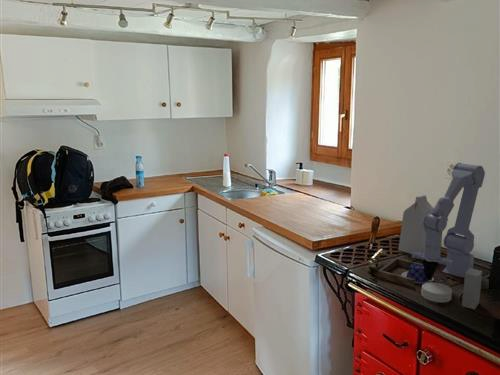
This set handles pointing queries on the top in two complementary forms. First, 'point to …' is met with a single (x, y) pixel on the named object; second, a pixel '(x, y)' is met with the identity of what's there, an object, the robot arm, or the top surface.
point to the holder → (399, 279)
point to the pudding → (417, 274)
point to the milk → (414, 226)
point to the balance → (376, 260)
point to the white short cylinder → (436, 292)
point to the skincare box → (472, 288)
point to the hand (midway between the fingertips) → (429, 279)
